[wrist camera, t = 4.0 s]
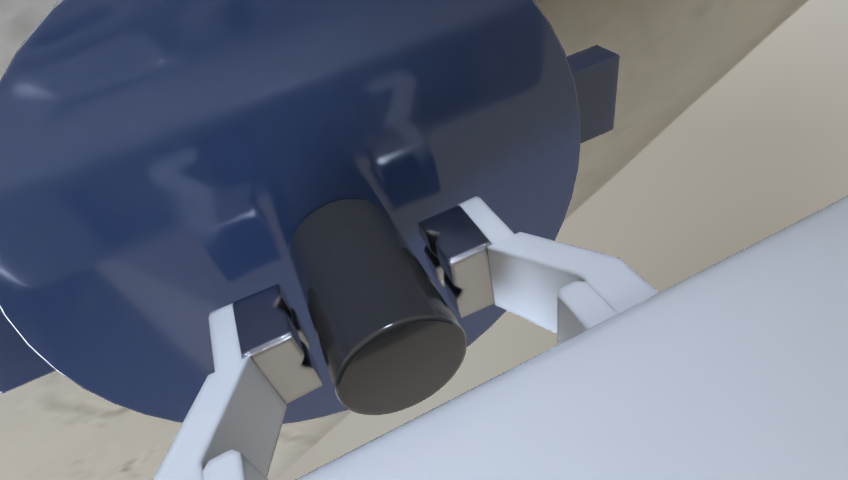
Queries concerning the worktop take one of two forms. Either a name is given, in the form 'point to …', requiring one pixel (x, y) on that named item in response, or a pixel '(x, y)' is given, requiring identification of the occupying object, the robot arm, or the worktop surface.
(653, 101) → the worktop surface
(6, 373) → the pot
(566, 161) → the lid
